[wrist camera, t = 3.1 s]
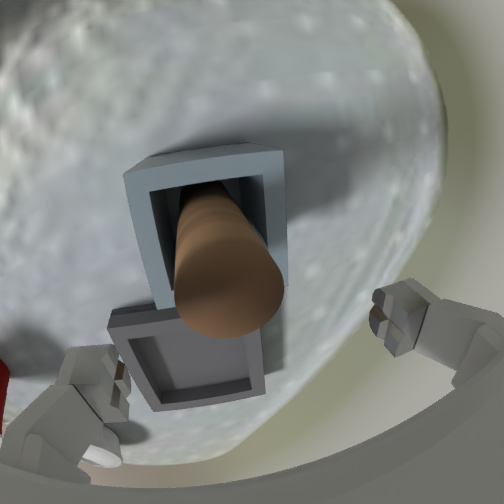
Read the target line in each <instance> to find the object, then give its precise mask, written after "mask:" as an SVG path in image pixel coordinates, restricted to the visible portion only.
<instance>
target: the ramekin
mask: <svg viewBox="0 0 504 504" xmlns="http://www.w3.org/2000/svg"><path fill="white" fill-rule="evenodd" d="M80 461H82V462H85V463H88V464H91V465H94V466H99V467H108V468H111V467H117V466H120V465H121V464H122V462H123V458H122V455H121V450H120V443H119V439H118V437H117V436H116V434H115V433H114V432H113V431H112V430H110V429H109V428H107V427H105V426H102V428H101V429H100V431H99V433H98V434H97V436H96V437H95V439H94V440H93V442H92V443H91V445H90V446H89V448H88V449H87V451H86V452H85V454H84V455H83V457H82V458H81V460H80Z"/></svg>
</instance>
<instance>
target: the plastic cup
mask: <svg viewBox="0 0 504 504" xmlns="http://www.w3.org/2000/svg"><path fill="white" fill-rule="evenodd" d="M8 382H9V370H8V368H7V366H6V365H5V364H4V363H3V361H2V360H0V445H2V441H3V439H2V420H3V413H4V406H5V400H6V395H7V387H8Z"/></svg>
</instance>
